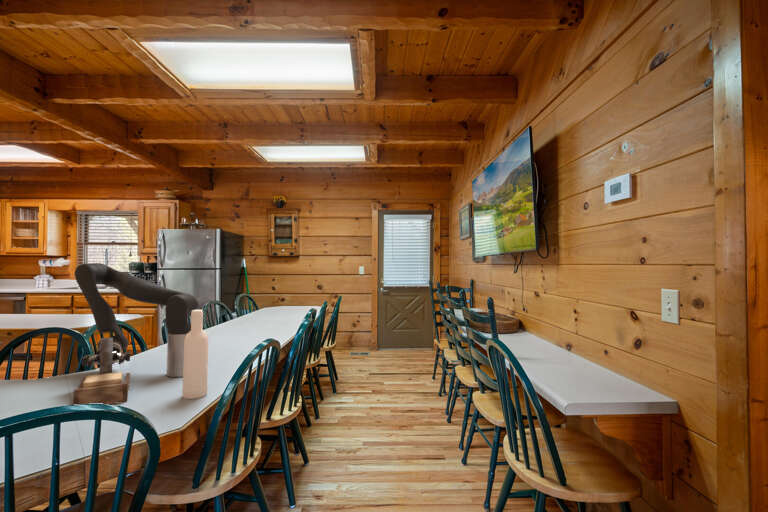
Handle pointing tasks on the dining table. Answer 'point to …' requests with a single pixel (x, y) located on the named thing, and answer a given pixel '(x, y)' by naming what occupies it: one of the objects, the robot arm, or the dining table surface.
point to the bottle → (195, 359)
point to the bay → (102, 393)
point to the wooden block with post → (104, 367)
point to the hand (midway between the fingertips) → (105, 362)
